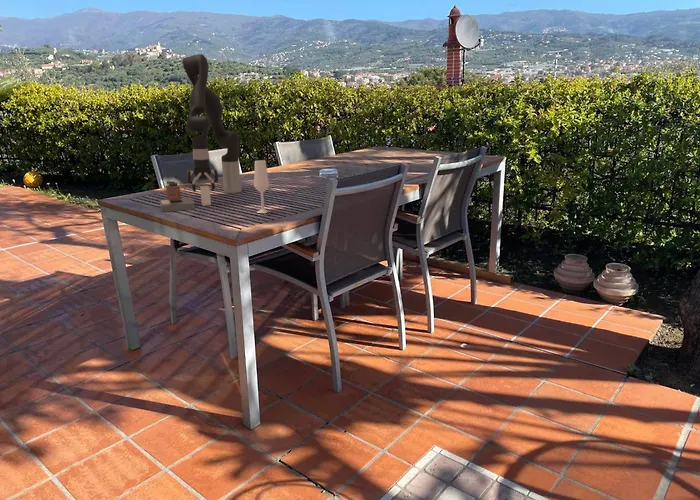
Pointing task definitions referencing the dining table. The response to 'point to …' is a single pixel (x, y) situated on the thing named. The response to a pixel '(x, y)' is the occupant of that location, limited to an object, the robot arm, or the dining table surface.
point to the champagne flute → (261, 181)
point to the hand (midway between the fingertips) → (203, 191)
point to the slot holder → (177, 204)
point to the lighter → (173, 190)
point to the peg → (205, 195)
